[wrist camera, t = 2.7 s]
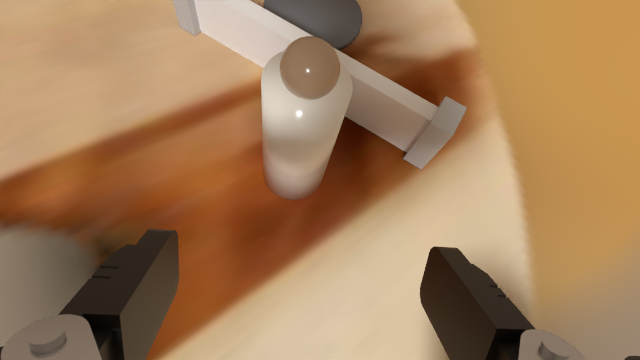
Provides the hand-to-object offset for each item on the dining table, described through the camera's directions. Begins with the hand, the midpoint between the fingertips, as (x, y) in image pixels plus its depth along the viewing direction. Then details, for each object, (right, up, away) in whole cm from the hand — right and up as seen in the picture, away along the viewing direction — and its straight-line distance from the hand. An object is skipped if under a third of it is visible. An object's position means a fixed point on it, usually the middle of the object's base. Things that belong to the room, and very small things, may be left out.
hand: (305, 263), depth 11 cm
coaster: (0, +20, +25) cm, 31 cm away
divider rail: (-1, +11, +21) cm, 24 cm away
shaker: (-2, +3, +17) cm, 17 cm away
